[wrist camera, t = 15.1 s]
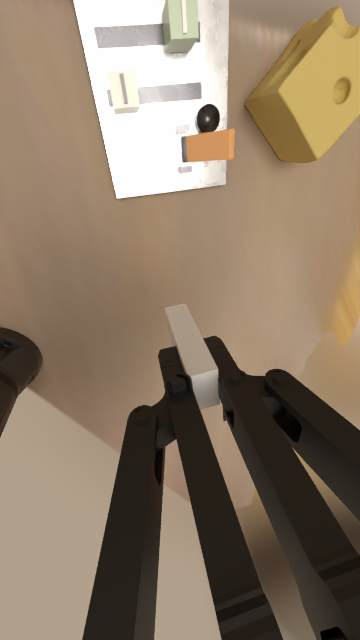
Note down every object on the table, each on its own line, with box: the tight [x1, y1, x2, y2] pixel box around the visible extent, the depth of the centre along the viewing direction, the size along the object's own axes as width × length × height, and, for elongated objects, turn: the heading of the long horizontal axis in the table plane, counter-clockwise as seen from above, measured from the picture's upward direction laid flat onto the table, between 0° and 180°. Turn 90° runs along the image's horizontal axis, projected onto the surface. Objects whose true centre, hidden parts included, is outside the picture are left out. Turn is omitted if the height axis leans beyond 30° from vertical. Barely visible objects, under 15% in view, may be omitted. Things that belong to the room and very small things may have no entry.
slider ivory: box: [107, 69, 140, 114], centre depth 28 cm, size 3×3×4 cm
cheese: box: [245, 7, 360, 163], centre depth 31 cm, size 10×11×10 cm
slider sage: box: [162, 0, 199, 53], centre depth 26 cm, size 3×3×4 cm
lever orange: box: [182, 129, 235, 163], centre depth 32 cm, size 1×3×8 cm
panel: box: [74, 0, 229, 199], centre depth 31 cm, size 17×20×4 cm
